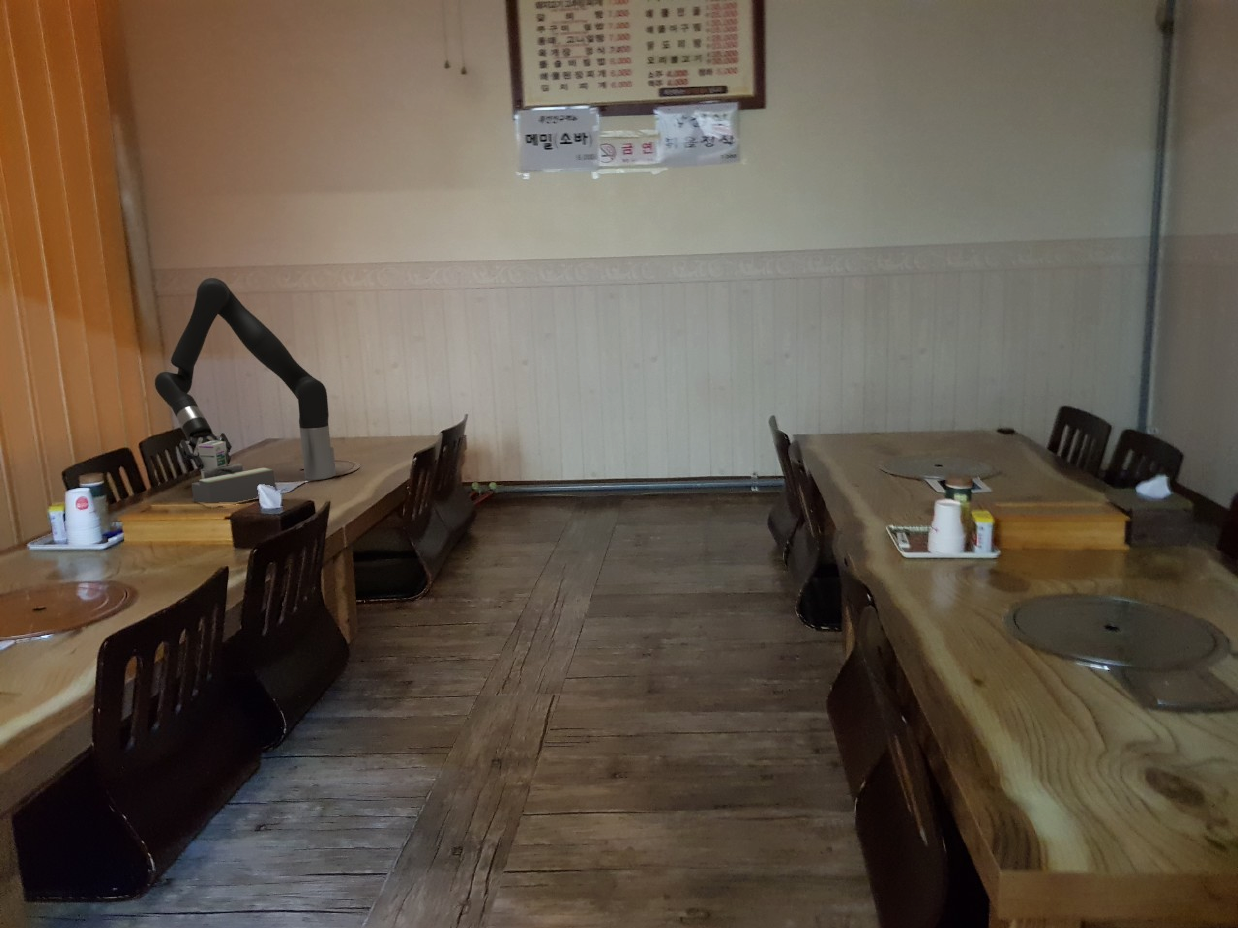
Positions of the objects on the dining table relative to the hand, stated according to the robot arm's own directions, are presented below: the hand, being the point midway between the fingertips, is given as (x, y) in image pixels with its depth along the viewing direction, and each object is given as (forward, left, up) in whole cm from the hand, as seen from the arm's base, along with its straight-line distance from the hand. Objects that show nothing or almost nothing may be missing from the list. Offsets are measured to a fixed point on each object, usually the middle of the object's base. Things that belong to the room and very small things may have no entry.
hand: (215, 465), depth 301 cm
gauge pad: (0, +8, -8) cm, 11 cm away
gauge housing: (0, +10, -9) cm, 14 cm away
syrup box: (0, -1, -8) cm, 8 cm away
